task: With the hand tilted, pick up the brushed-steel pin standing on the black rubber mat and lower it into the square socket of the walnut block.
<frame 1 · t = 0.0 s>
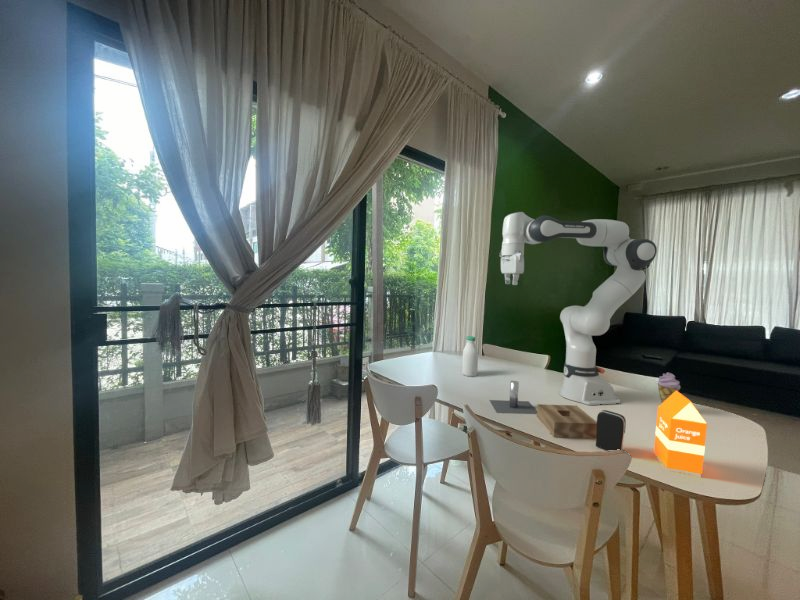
hand: (511, 284, 134), 48 cm above the table, tool pointing down, fingers open, 8 cm apart
socket block: (565, 427, 109), on the table
ice cream cone: (666, 411, 124), on the table
pin: (513, 406, 124), resting on mat
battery: (609, 449, 96), on the table
orange juice: (676, 465, 88), on the table
mat: (513, 407, 124), on the table
milk bottle: (469, 375, 165), on the table
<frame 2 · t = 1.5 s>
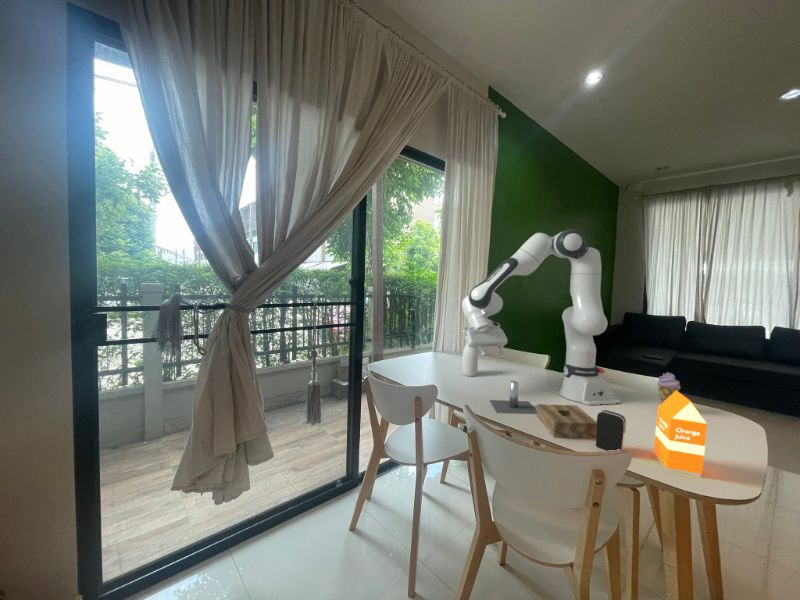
hand: (493, 354, 134), 18 cm above the table, tool tilted 45°, fingers open, 8 cm apart
nothing on the table moved.
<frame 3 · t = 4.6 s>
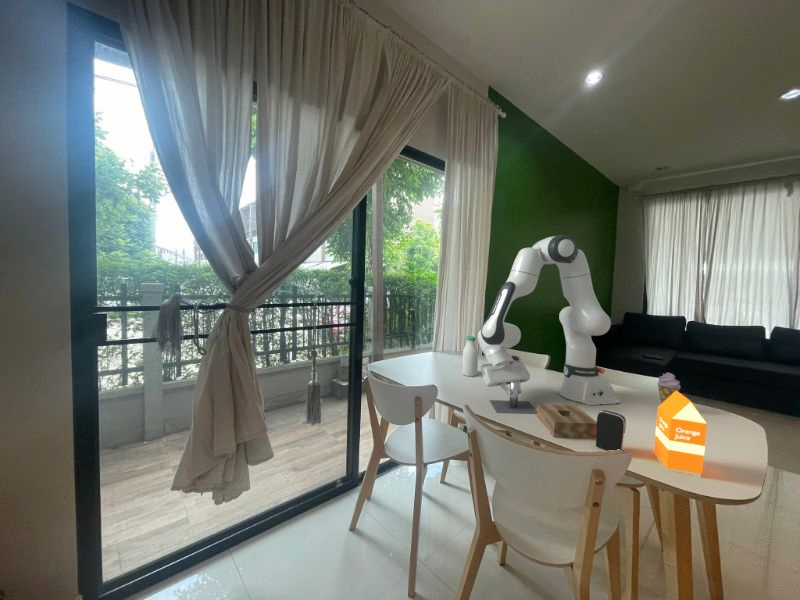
hand: (515, 393, 123), 6 cm above the table, tool tilted 45°, fingers closed on pin, 3 cm apart
pin: (513, 406, 124), resting on mat, touching gripper
everything else where it was.
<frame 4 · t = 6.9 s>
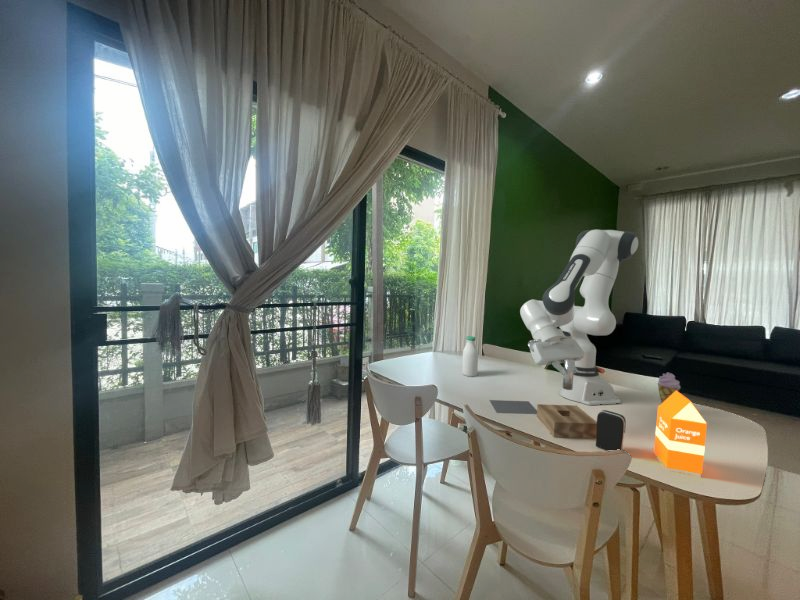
hand: (570, 373, 107), 19 cm above the table, tool tilted 45°, fingers closed on pin, 3 cm apart
pin: (567, 388, 108), point 14 cm above the table, touching gripper
everything else where it was.
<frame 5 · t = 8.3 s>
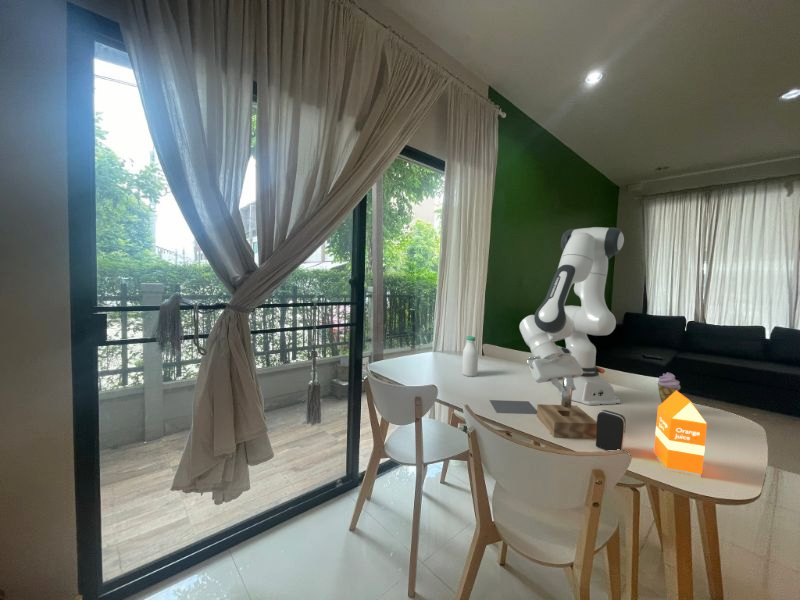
hand: (568, 390, 107), 13 cm above the table, tool tilted 45°, fingers closed on pin, 3 cm apart
pin: (566, 405, 108), point 8 cm above the table, touching gripper
everything else where it was.
when the fingers open (9 cm above the table, at t = 9.6 s): pin drops 3 cm, resting in socket block.
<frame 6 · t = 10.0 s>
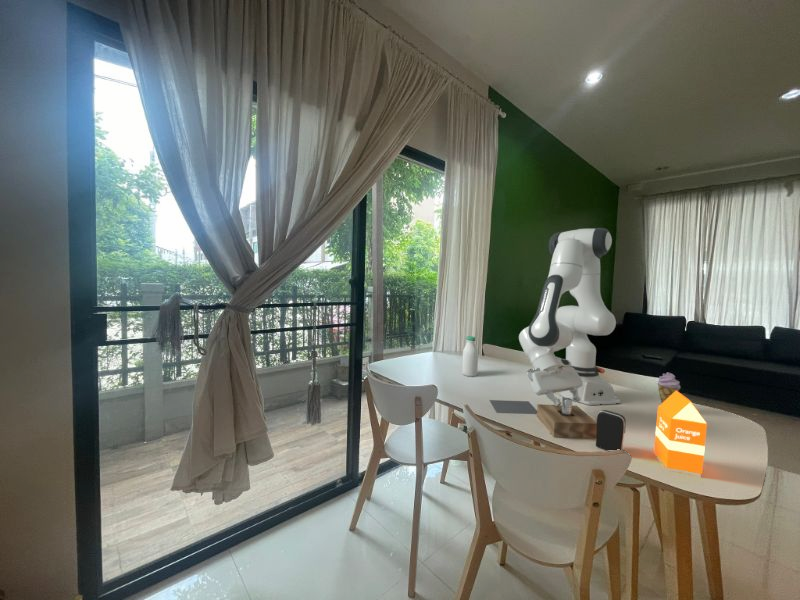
hand: (568, 403, 108), 9 cm above the table, tool tilted 45°, fingers open, 8 cm apart
pin: (565, 427, 109), resting in socket block
everything else where it was.
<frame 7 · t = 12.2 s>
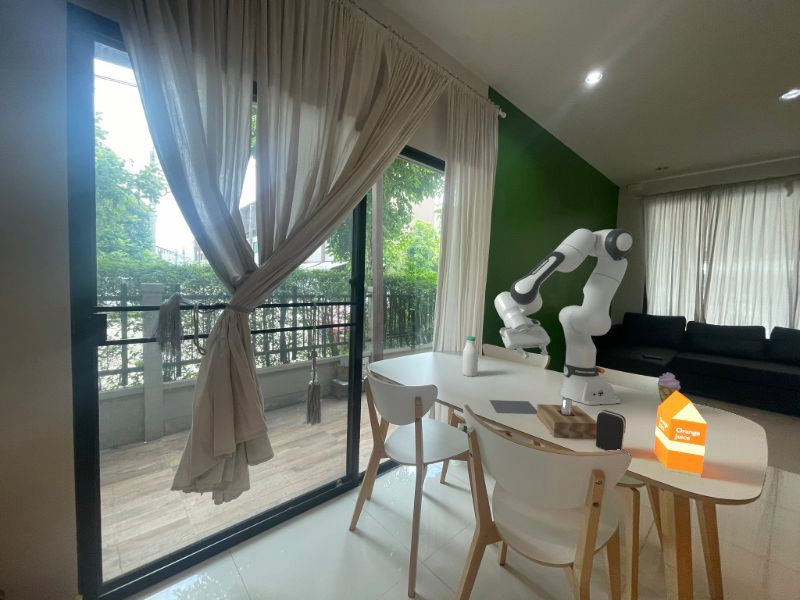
hand: (536, 356, 120), 22 cm above the table, tool tilted 45°, fingers open, 8 cm apart
nothing on the table moved.
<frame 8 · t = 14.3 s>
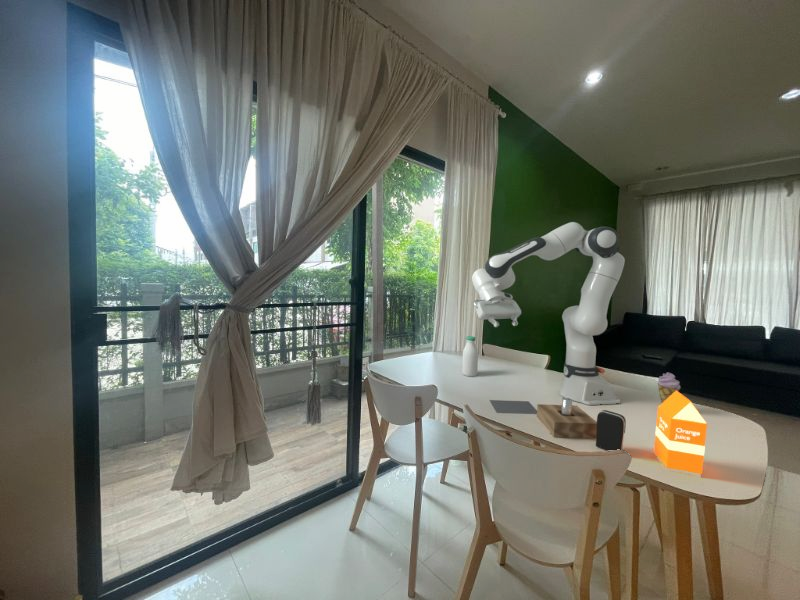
hand: (506, 325, 129), 31 cm above the table, tool tilted 45°, fingers open, 8 cm apart
nothing on the table moved.
at the end: pin 0.1 cm off-centre on the socket block, point 0.0 cm above the socket block's base; pin tilted 0°; the gripper is holding nothing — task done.
